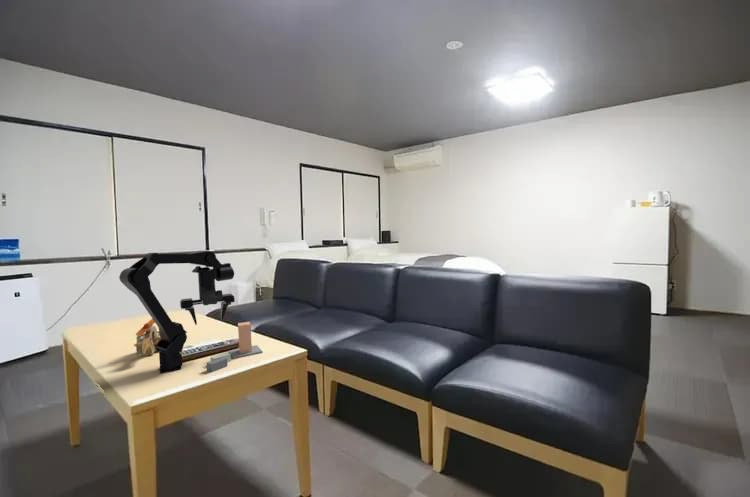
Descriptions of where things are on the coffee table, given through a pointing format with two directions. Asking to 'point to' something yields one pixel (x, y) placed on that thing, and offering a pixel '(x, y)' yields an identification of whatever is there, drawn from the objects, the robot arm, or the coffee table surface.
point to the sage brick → (224, 355)
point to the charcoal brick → (216, 364)
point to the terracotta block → (244, 337)
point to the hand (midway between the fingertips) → (209, 322)
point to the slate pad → (237, 354)
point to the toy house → (147, 339)
